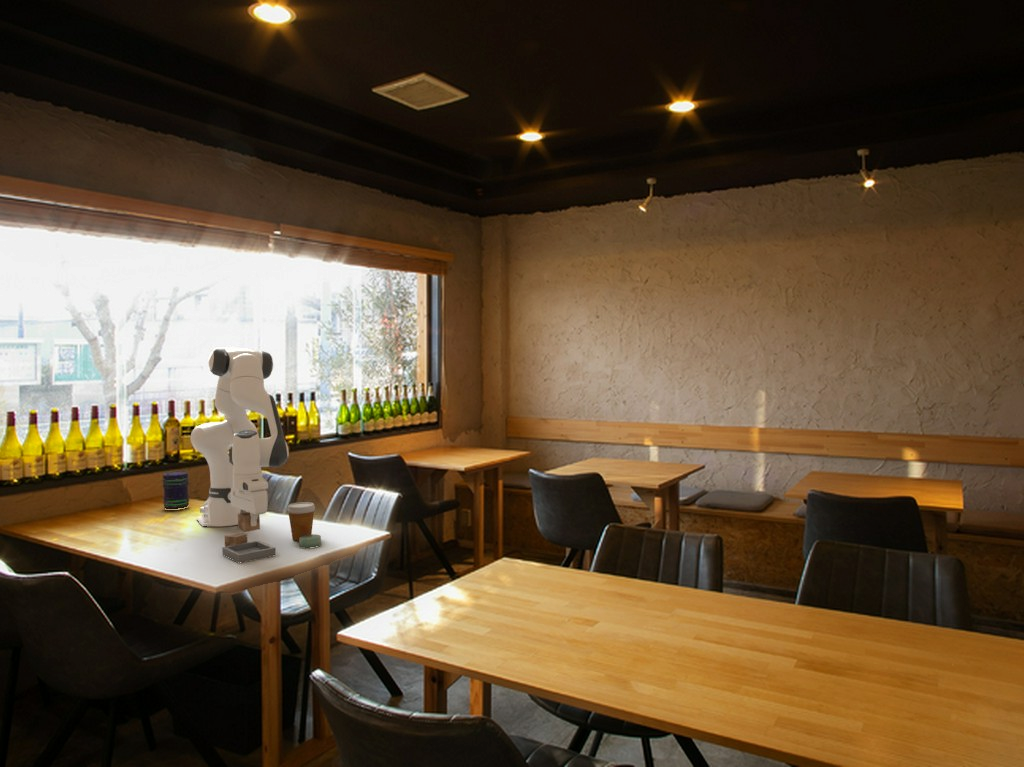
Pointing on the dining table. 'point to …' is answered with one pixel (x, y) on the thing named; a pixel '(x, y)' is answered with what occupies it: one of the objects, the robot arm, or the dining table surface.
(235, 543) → the walnut block
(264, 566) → the dining table surface
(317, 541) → the sponge
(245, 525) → the walnut block
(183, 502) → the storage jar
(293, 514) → the disposable coffee cup
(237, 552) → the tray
